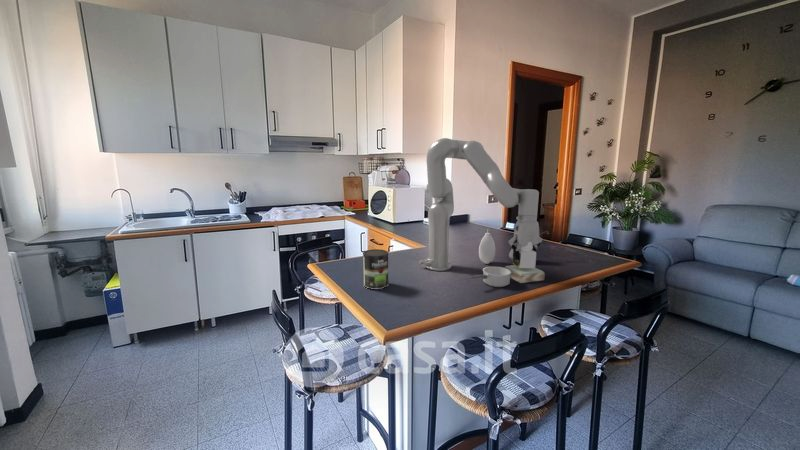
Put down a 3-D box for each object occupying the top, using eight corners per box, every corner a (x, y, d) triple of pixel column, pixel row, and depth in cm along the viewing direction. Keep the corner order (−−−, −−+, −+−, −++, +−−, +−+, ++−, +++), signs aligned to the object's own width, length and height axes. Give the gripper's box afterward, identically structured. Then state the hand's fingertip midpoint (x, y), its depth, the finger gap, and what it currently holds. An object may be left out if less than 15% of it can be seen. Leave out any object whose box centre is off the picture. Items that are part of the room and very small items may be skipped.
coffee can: (392, 287, 135) (392, 253, 132) (369, 292, 130) (368, 257, 127) (382, 279, 144) (381, 247, 141) (359, 283, 139) (359, 251, 136)
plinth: (520, 283, 139) (521, 274, 138) (503, 273, 150) (504, 265, 149) (544, 280, 142) (545, 271, 142) (526, 271, 154) (526, 263, 153)
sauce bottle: (475, 264, 164) (477, 228, 161) (481, 260, 171) (483, 225, 167) (491, 266, 160) (493, 230, 157) (496, 262, 166) (498, 227, 163)
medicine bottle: (512, 263, 148) (514, 237, 146) (527, 263, 149) (529, 237, 147) (519, 268, 142) (521, 241, 139) (535, 268, 142) (537, 240, 140)
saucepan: (460, 285, 137) (461, 272, 136) (495, 277, 147) (496, 264, 146) (480, 295, 127) (481, 281, 126) (516, 285, 137) (517, 272, 136)
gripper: (515, 221, 135) (512, 262, 139) (550, 219, 140) (546, 258, 144) (504, 218, 142) (501, 257, 146) (538, 216, 147) (535, 254, 151)
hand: (524, 258), depth 145 cm, fingers closed on medicine bottle, 8 cm apart
